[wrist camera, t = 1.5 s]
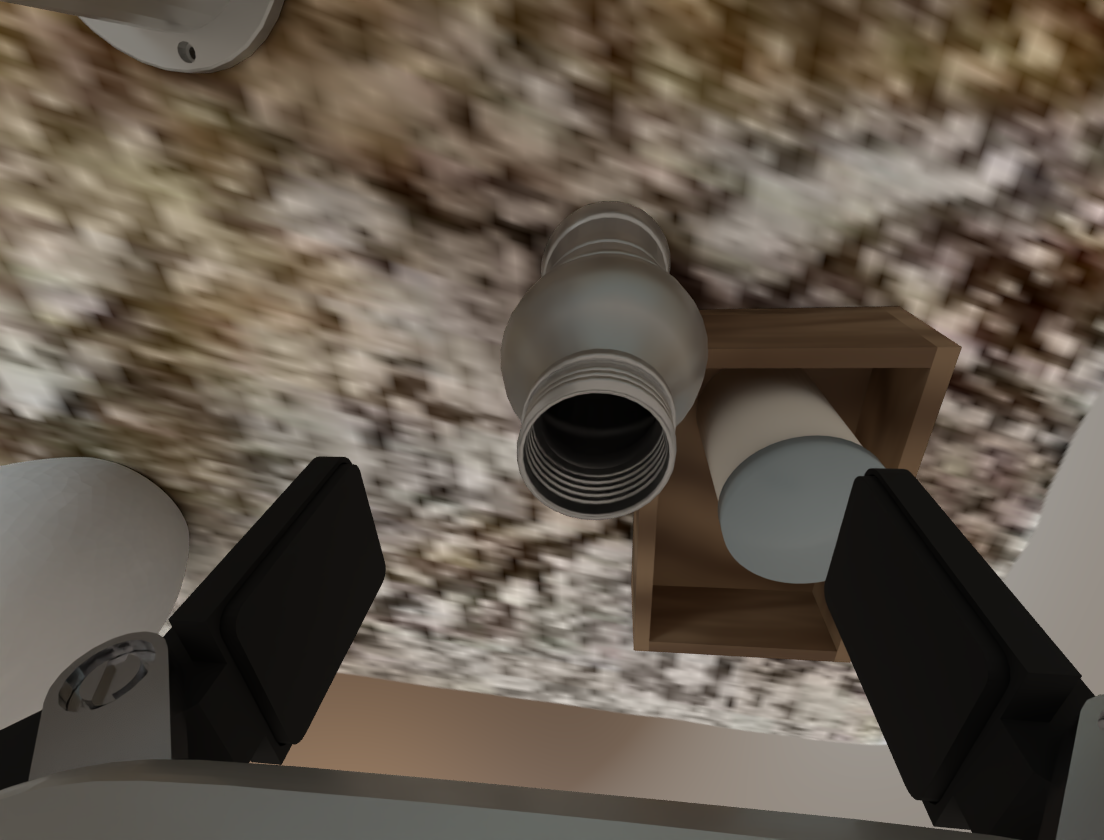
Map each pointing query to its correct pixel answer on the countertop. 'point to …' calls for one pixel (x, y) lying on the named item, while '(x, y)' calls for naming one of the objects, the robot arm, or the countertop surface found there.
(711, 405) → the jar
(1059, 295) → the countertop surface
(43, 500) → the pitcher
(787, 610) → the crate
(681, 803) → the robot arm
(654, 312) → the grey metal bottle
